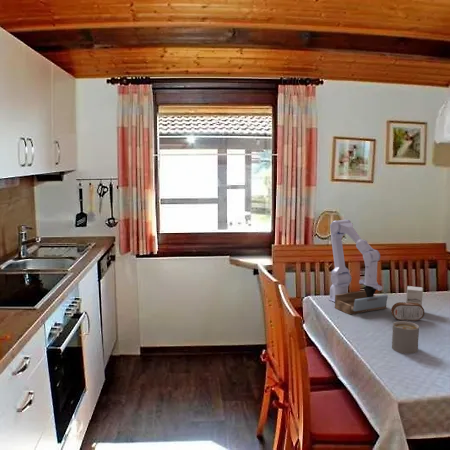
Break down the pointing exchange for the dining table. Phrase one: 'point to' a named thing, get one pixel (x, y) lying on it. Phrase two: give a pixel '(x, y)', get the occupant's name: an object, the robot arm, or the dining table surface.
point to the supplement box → (414, 295)
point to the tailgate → (370, 302)
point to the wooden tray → (351, 302)
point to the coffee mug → (405, 337)
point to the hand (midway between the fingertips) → (369, 301)
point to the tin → (407, 311)
